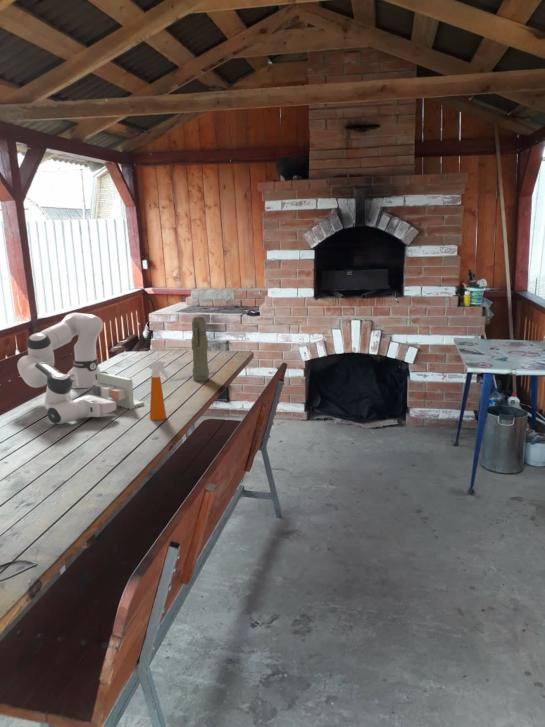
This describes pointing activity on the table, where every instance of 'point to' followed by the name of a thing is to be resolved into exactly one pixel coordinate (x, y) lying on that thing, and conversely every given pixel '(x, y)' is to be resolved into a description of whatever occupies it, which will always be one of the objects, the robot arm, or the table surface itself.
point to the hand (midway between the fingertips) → (111, 399)
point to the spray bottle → (157, 392)
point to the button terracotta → (118, 394)
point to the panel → (120, 383)
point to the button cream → (107, 391)
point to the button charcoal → (98, 389)
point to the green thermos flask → (199, 349)
